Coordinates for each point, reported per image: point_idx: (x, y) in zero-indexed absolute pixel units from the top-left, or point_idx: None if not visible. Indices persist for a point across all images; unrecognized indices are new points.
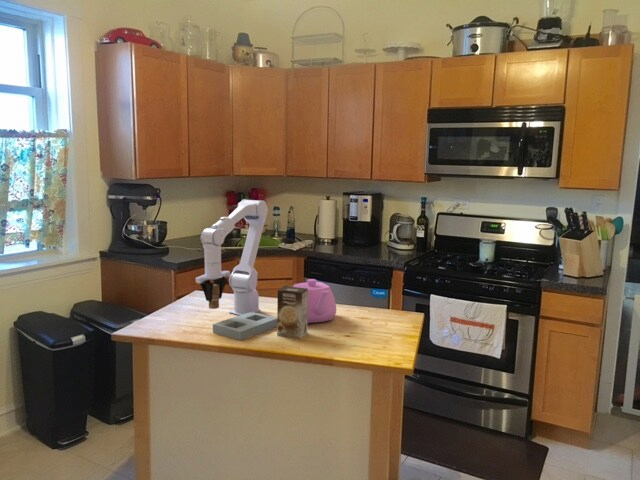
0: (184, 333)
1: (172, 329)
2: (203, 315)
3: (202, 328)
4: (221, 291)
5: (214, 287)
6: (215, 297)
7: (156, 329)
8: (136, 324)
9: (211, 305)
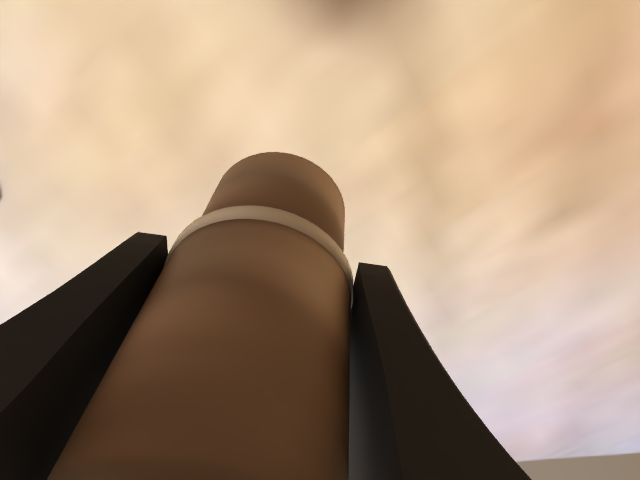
0: (620, 182)
1: (546, 298)
2: None
3: (447, 139)
4: (85, 305)
5: (293, 472)
6: (300, 259)
7: (573, 363)
8: (518, 459)
9: (342, 226)
